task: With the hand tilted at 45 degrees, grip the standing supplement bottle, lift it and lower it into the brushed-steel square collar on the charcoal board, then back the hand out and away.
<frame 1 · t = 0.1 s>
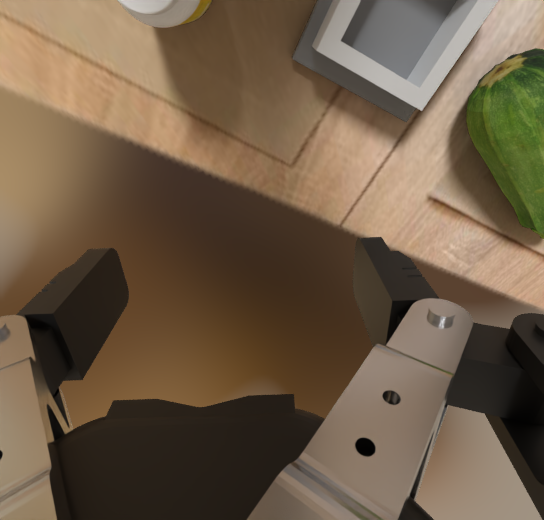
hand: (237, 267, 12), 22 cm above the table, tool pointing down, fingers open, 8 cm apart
vegetable: (515, 152, 33), on the table
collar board: (394, 10, 26), on the table
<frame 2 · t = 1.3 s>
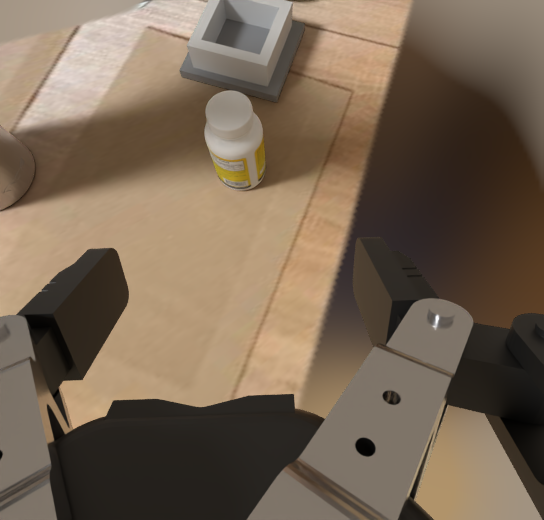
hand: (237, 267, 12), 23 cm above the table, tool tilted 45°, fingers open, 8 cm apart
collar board: (244, 53, 42), on the table
supplement bottle: (241, 170, 39), on the table
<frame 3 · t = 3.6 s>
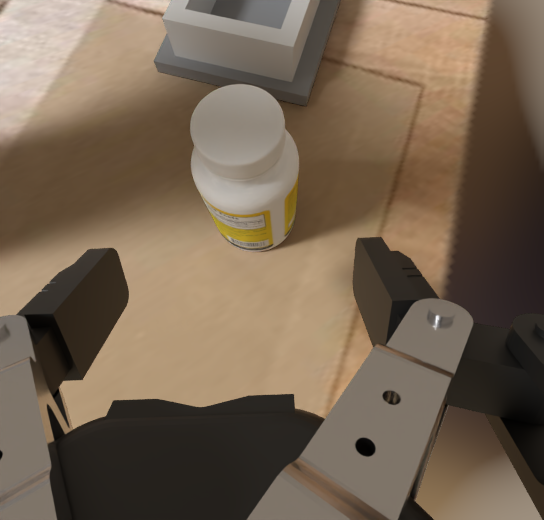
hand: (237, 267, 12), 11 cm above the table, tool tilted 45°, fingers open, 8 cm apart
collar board: (252, 34, 28), on the table
supplement bottle: (255, 217, 24), on the table
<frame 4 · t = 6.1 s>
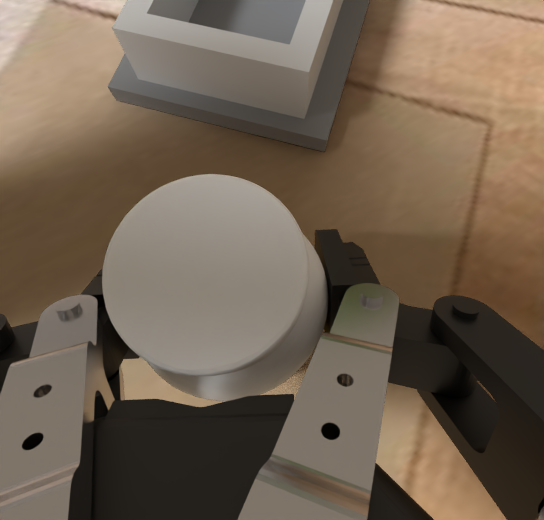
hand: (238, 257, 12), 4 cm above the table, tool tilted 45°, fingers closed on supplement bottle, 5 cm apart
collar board: (248, 47, 20), on the table
supplement bottle: (251, 321, 16), on the table, touching gripper
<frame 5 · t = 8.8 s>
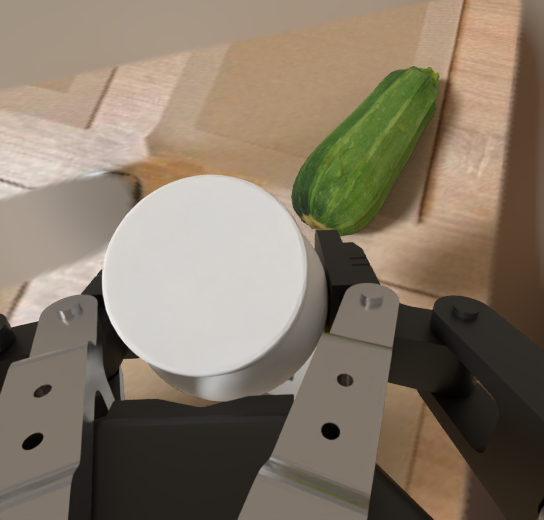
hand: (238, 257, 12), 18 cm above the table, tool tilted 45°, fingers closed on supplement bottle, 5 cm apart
vegetable: (367, 160, 34), on the table
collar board: (263, 325, 29), on the table
supplement bottle: (251, 322, 16), point 14 cm above the table, touching gripper
when the fingers open (7 cm above the table, at t = 11.6 s): supplement bottle drops 1 cm, resting on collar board.
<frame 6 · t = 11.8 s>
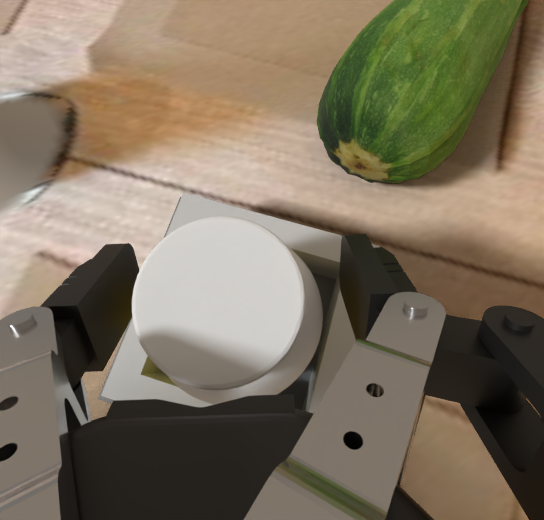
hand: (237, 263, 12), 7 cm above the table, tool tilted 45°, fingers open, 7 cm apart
vegetable: (423, 81, 23), on the table
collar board: (254, 325, 18), on the table
supplement bottle: (252, 328, 17), point 1 cm above the table, touching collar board
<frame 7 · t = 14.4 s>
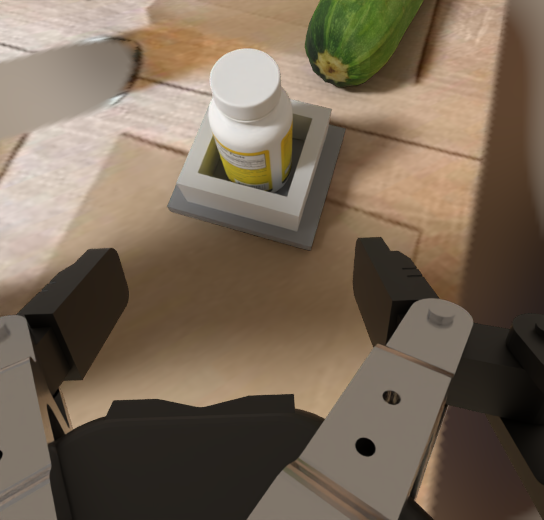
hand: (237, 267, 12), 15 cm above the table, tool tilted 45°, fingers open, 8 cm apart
vegetable: (375, 28, 34), on the table
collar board: (259, 172, 30), on the table
supplement bottle: (258, 169, 29), point 1 cm above the table, touching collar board
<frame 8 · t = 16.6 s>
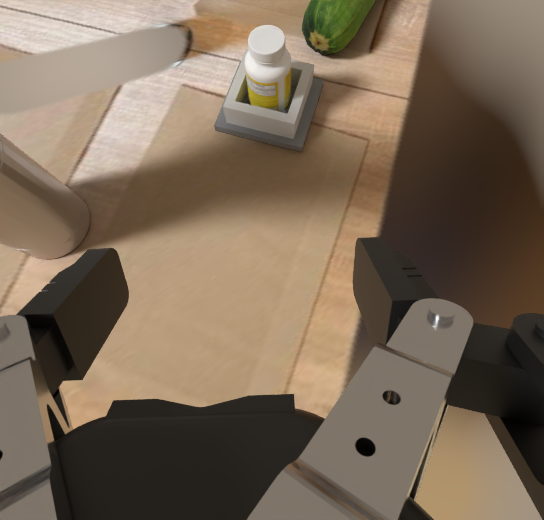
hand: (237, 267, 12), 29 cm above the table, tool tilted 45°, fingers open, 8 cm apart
vegetable: (347, 18, 52), on the table
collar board: (270, 107, 47), on the table
supplement bottle: (269, 104, 47), point 1 cm above the table, touching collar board
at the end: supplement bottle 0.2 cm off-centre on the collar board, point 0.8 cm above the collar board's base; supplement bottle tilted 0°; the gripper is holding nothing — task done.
